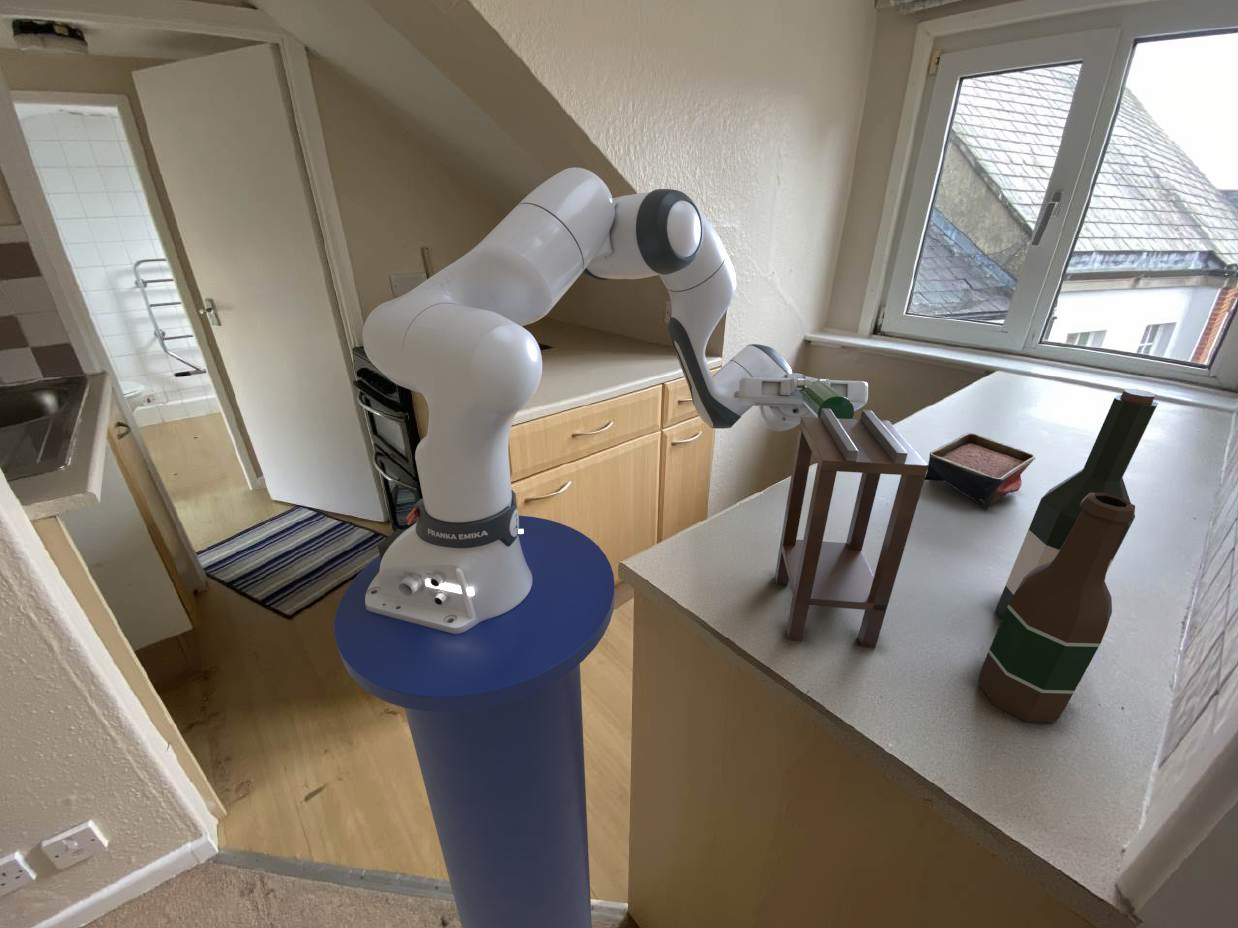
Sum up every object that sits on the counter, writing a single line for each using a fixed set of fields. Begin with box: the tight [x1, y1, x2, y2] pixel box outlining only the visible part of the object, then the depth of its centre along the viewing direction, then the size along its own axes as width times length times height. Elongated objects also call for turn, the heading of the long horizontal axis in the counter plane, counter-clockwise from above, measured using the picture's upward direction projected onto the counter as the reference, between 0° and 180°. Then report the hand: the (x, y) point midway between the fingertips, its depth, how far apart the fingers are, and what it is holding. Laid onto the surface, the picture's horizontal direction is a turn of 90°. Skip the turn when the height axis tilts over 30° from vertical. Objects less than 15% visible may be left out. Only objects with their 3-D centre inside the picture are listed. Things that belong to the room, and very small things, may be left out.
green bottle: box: [799, 380, 855, 419], centre depth 75 cm, size 18×4×4 cm, turn 173°
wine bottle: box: [994, 388, 1159, 620], centre depth 59 cm, size 8×8×30 cm
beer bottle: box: [977, 493, 1136, 724], centre depth 51 cm, size 8×8×24 cm
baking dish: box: [924, 432, 1036, 511], centre depth 95 cm, size 14×18×10 cm
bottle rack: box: [774, 408, 928, 649], centre depth 62 cm, size 10×12×25 cm
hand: (811, 383), depth 80 cm, fingers closed on green bottle, 2 cm apart
